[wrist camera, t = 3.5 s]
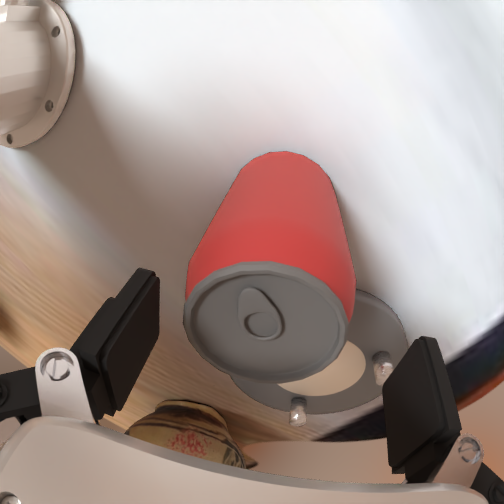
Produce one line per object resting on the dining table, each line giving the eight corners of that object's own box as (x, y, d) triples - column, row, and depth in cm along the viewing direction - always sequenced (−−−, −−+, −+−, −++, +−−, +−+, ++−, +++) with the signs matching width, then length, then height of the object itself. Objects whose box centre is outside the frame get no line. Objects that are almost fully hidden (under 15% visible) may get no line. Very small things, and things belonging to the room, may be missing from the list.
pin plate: (245, 263, 24) (241, 276, 22) (436, 306, 23) (441, 319, 22) (219, 386, 32) (216, 398, 31) (360, 410, 32) (361, 421, 30)
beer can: (323, 138, 18) (354, 230, 8) (342, 234, 21) (367, 382, 11) (219, 162, 20) (135, 269, 10) (248, 251, 23) (208, 395, 13)
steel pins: (262, 327, 25) (258, 351, 22) (393, 351, 24) (398, 374, 22) (241, 394, 30) (237, 415, 28) (348, 412, 30) (348, 432, 28)
